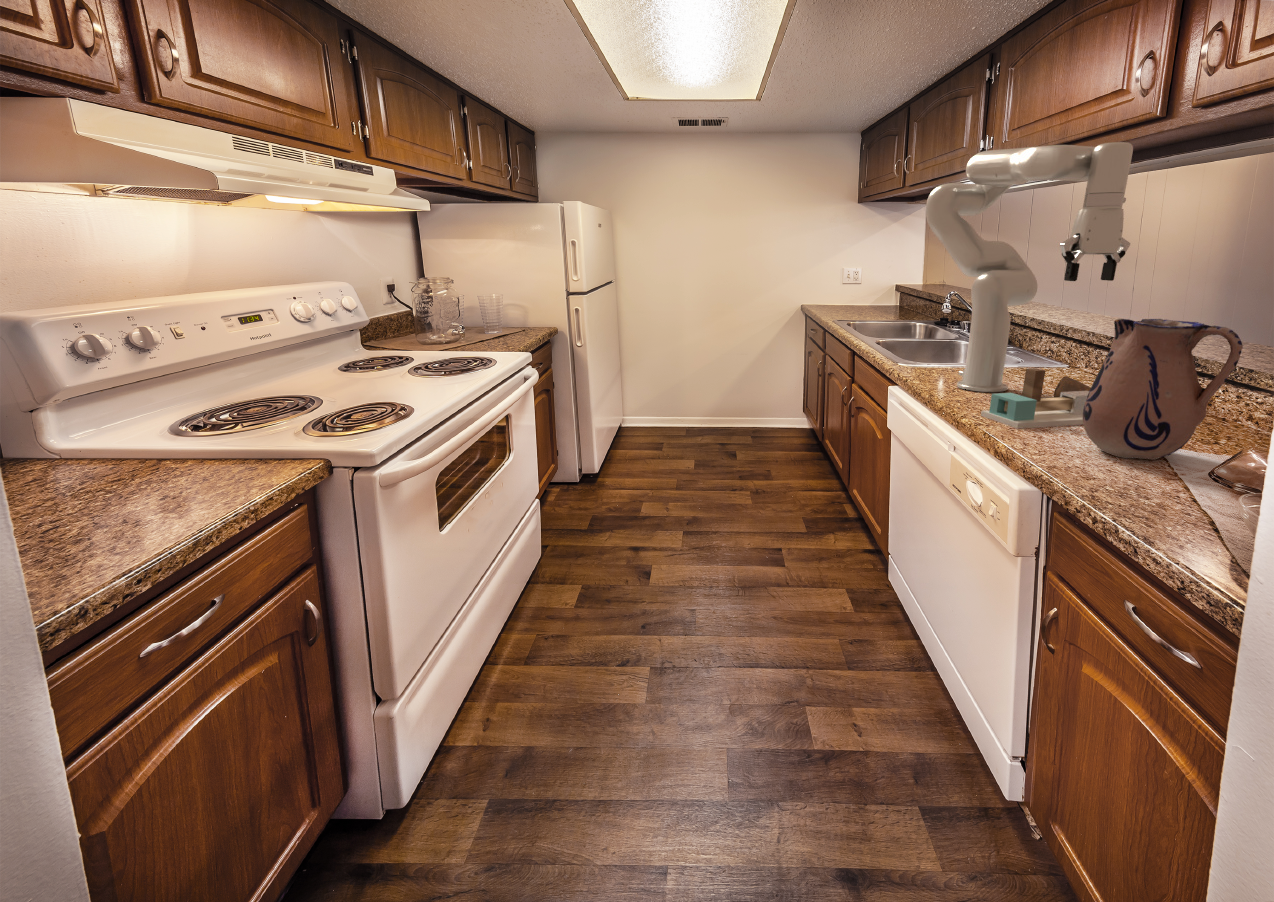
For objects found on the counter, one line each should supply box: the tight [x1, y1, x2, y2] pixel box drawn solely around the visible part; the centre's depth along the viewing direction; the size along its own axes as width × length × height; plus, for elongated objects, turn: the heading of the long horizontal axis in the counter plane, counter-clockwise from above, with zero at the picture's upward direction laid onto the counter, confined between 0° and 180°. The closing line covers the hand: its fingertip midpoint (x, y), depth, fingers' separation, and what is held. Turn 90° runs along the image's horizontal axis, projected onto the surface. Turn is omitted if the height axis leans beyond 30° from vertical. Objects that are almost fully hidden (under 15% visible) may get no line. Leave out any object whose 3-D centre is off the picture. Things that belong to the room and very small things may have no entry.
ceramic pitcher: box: [1083, 318, 1244, 461], centre depth 127 cm, size 18×21×25 cm
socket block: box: [989, 392, 1037, 421], centre depth 155 cm, size 5×8×4 cm, turn 11°
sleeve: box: [1058, 391, 1089, 415], centre depth 158 cm, size 7×4×4 cm, turn 101°
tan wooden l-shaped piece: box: [1004, 367, 1073, 412], centre depth 155 cm, size 17×3×9 cm, turn 101°
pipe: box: [1053, 375, 1091, 398], centre depth 174 cm, size 6×17×10 cm
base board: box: [980, 409, 1084, 429], centre depth 157 cm, size 26×12×1 cm, turn 101°
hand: (1088, 280), depth 161 cm, fingers open, 9 cm apart
